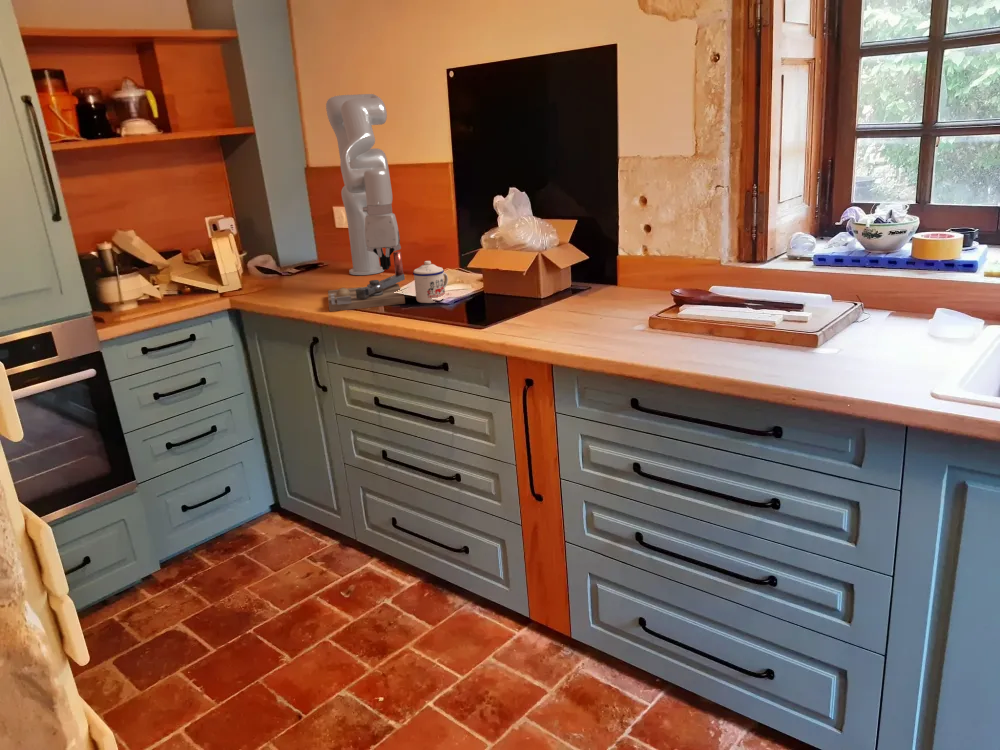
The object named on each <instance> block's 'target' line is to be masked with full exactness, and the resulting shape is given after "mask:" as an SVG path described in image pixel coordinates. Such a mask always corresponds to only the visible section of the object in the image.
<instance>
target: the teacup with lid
mask: <svg viewBox="0 0 1000 750" xmlns="http://www.w3.org/2000/svg"><path fill="white" fill-rule="evenodd" d="M423 263H424V264H422V265H420V266H419V267H417V268H415V269H414V270H413V272H412V274H413V279H414V280H413V281H414V289H415V290H414V291H415V299H416V301H417V303H421V304H433V303H436V302H435V301H433V300H431V299H432V298H438V297H441V296H443V295H444V294H445V295H446V292H445V291H446V289H445V288H446V287H447V286H448V283H449V276H448V274H447V273H446V272H444V269H443V267H442V266H441V267H440V266H437V265H436V264H434V263H432V262H431V260H425V261H423Z"/></svg>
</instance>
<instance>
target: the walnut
mask: <svg viewBox="0 0 1000 750" xmlns="http://www.w3.org/2000/svg"><path fill="white" fill-rule="evenodd" d="M348 289H349V288H346V287H340V288H339V289H337V290H338V291H337V293H336V296H337V297H344V296H350V292H349V290H348Z"/></svg>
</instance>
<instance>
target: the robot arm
mask: <svg viewBox="0 0 1000 750" xmlns="http://www.w3.org/2000/svg"><path fill="white" fill-rule="evenodd" d="M325 110H326V115H327V119H328V122H329V124H330V127H331V128H332V130H333V132H334V135H335V138H336V140H337V146H338V153H339V159H340V172H341V175H342V180H343V184H344V186H342V189H341V192H340V193H341V200H342V203H343V208H344V210H345V216H346V219H347V229H348V237H349V245H350V253H351V261H352V268H350V269H349V272H348V273H349V274H350V275H352V276H370V275H375V274H376V275H377V274H380V273H383V272H384V271H386V270H387V271H388V270H389V269H390V267H391V265H392V264H391V263H392V262H391V261H392V260H391V255H392V254H393V253H394V252H398V251H400V250H401V249H402V246H401V244H400V241H401V238H400V232H399V226H398V222H397V217H396V214H395V213H393V207H392V206H393V190H392V184H391V183H392V182H391V177H390V176H391V175H390V169H389V168H390V167H389V164H388V158H387V156H386V153H385V152H384V150H382V149H380V148H373V147H374V146H375V143H376V137H375V134H374V130H373V126H380V125H385V123H386V121H387V119H388V113H387V108H386V105H385V102H384V101H383V99H382V98H380V96H378V95H376V94H374V93H361V94H343V95H340V94H339V95H334V96H331V97H330V98H328V99H327V101H326V103H325ZM384 249H385V252H384Z"/></svg>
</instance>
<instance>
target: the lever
mask: <svg viewBox="0 0 1000 750" xmlns="http://www.w3.org/2000/svg"><path fill="white" fill-rule="evenodd" d="M392 254H393V262H394V263H393V264H394V272H395V274H394V275H391V276H389V277H386V278H384V279H382V280H379V284H375V285H371V284H370V283H368V284H367V286H364V287H365V288H359V287H357V288H358V289H356V297H357V298H364V299H366V298H368V297H369V295H371V294H373V293H377V292H381V291H383V289H384V288H386V287H389V286H391V285H393V284H399V283H400V282H402V281H405V279H406V278H405V273H404V271H403V270H404V268H403V260H402V252H401V251H393V253H392Z"/></svg>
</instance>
